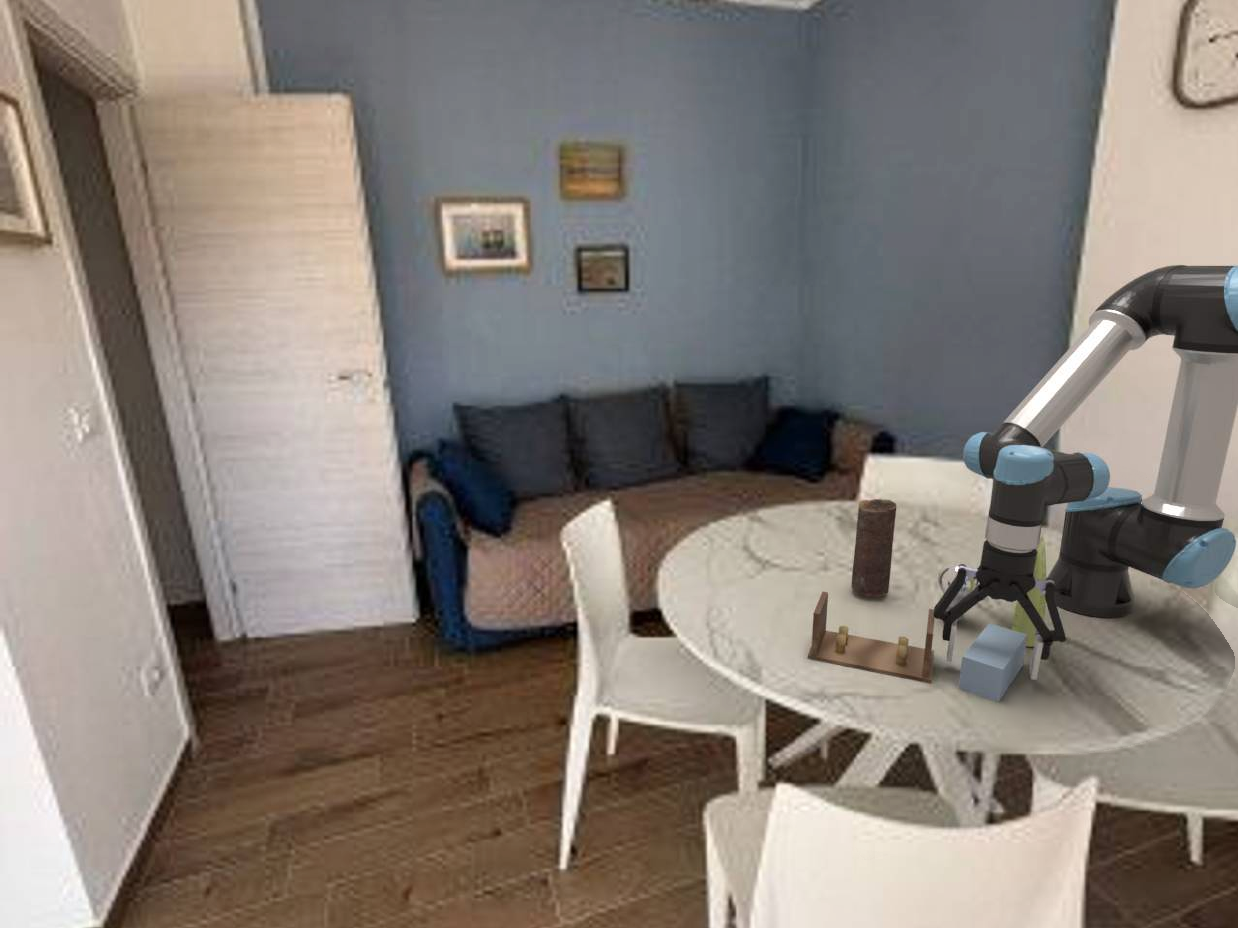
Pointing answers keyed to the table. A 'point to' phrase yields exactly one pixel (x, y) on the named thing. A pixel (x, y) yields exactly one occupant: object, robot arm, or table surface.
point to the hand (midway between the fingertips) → (990, 666)
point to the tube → (1032, 599)
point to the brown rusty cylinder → (873, 547)
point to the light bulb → (947, 578)
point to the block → (992, 662)
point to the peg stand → (871, 649)
